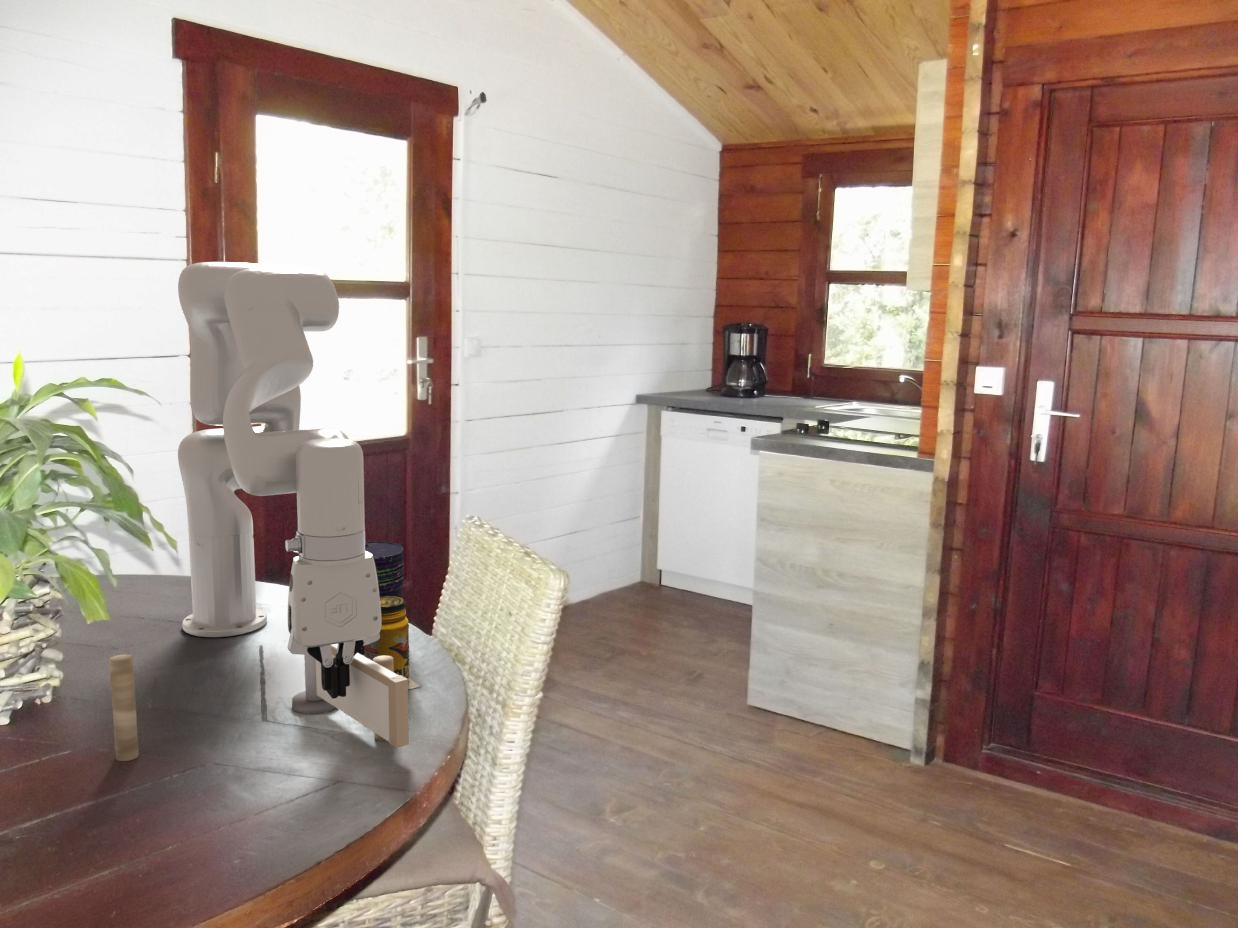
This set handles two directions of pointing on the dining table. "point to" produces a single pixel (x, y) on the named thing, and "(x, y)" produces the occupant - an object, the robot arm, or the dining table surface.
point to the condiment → (393, 637)
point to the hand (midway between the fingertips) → (335, 693)
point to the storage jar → (387, 569)
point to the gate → (367, 696)
